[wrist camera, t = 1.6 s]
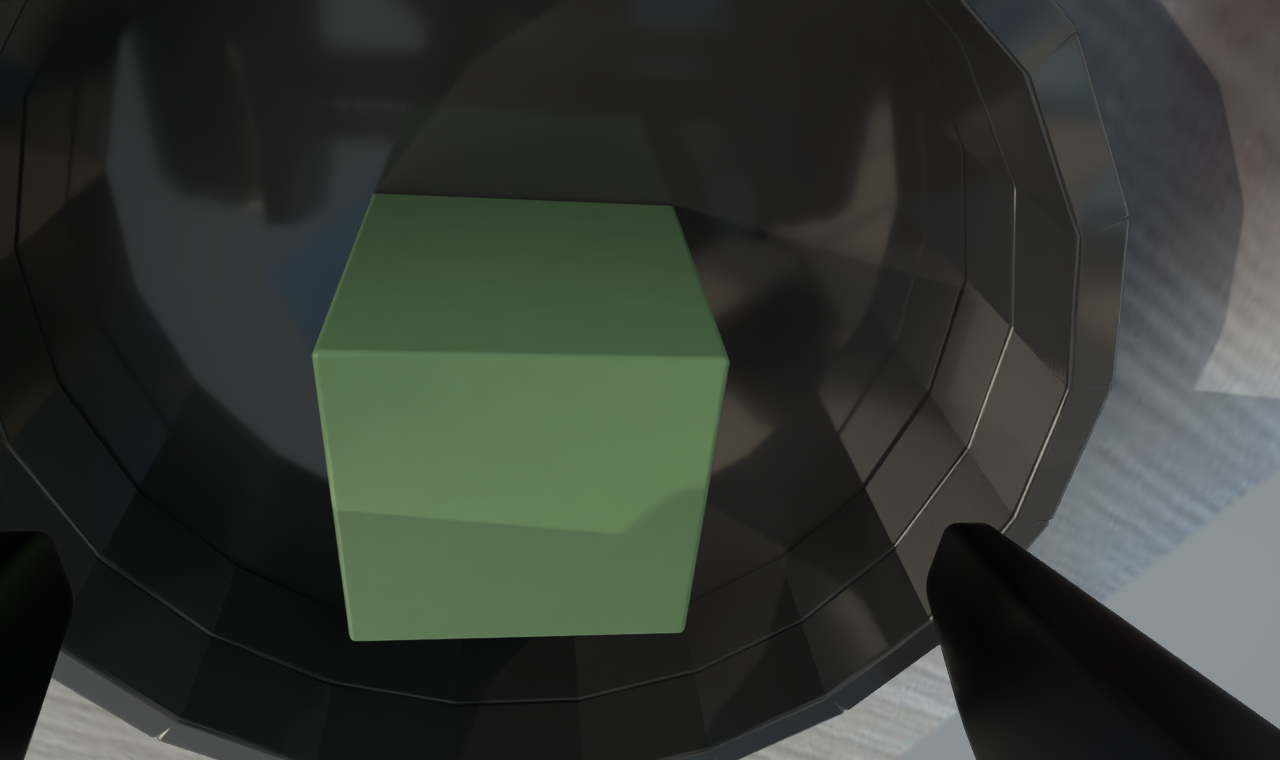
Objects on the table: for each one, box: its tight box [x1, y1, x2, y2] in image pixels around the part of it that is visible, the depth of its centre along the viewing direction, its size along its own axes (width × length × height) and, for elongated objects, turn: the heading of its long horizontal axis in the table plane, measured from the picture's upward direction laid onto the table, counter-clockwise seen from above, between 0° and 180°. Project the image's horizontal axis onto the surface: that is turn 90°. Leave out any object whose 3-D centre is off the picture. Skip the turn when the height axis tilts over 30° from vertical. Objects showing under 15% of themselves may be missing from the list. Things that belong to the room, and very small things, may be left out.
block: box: [312, 194, 730, 641], centre depth 11 cm, size 4×4×4 cm
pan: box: [0, 0, 1130, 760], centre depth 12 cm, size 14×14×4 cm
